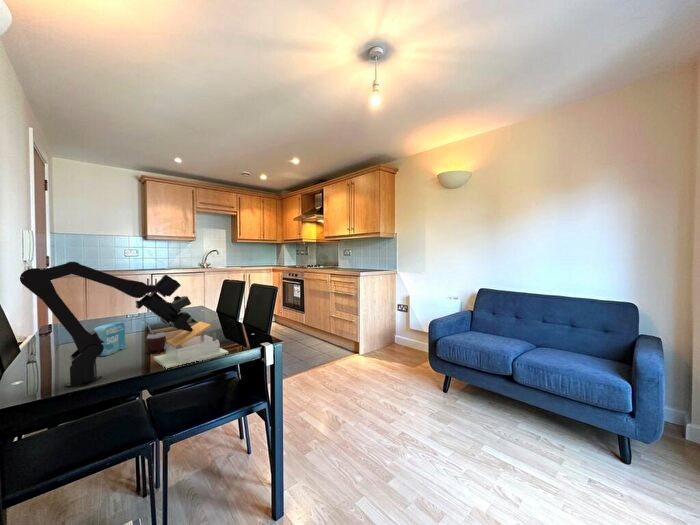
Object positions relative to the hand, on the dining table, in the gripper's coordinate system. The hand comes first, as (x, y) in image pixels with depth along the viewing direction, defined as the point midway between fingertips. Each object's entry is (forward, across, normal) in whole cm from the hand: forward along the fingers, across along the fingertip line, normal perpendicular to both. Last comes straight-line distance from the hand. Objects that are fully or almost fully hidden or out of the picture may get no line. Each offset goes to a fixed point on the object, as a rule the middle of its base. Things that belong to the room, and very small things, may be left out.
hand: (191, 330), depth 117 cm
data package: (-7, +35, +23) cm, 42 cm away
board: (+7, 0, +7) cm, 10 cm away
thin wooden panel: (0, 0, +1) cm, 2 cm away
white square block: (+7, 0, +6) cm, 9 cm away
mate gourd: (+2, +19, +13) cm, 23 cm away
